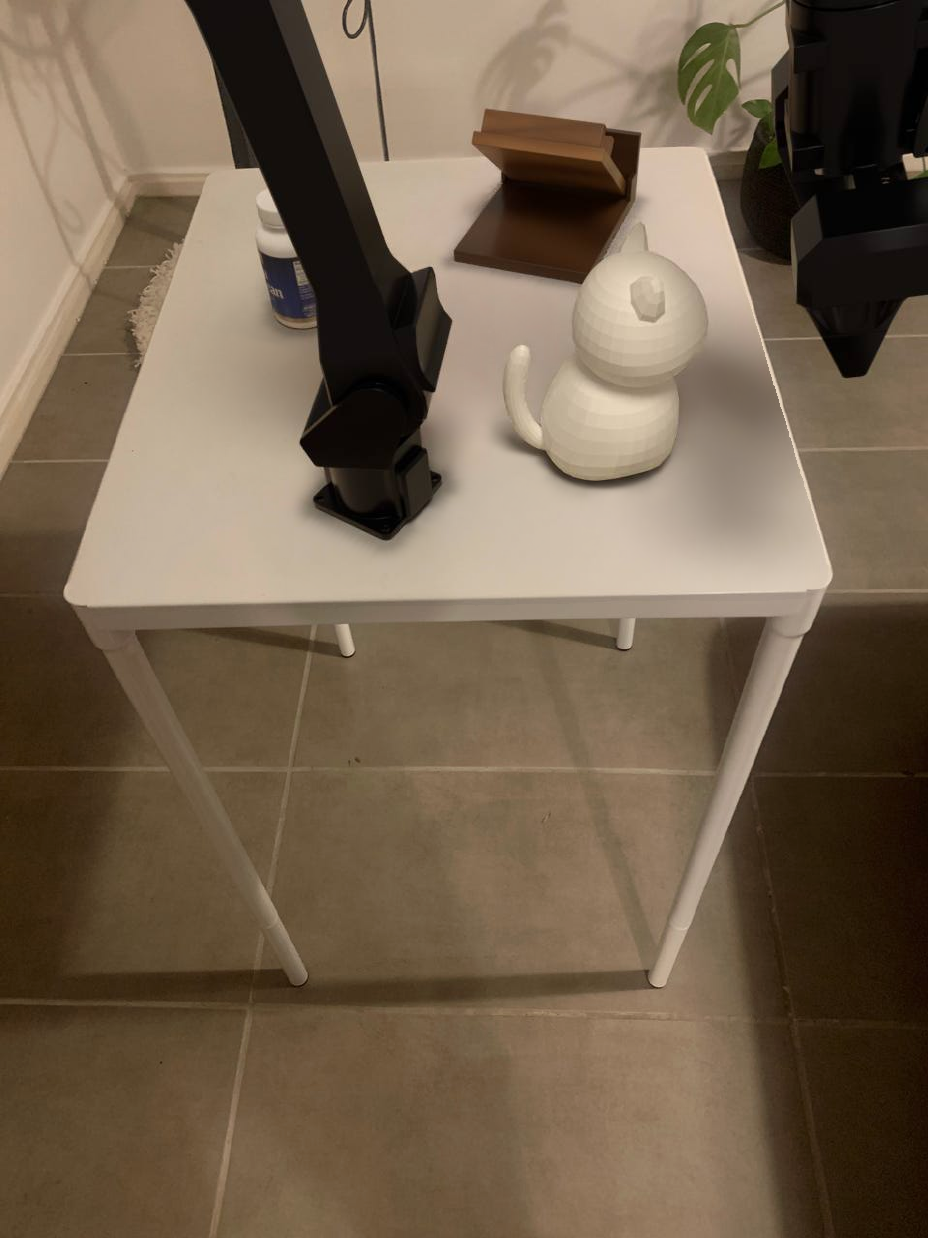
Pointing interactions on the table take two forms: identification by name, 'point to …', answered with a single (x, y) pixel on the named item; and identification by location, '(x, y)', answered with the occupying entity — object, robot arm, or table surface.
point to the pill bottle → (283, 269)
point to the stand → (552, 222)
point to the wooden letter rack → (550, 151)
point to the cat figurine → (616, 367)
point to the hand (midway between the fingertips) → (844, 318)
